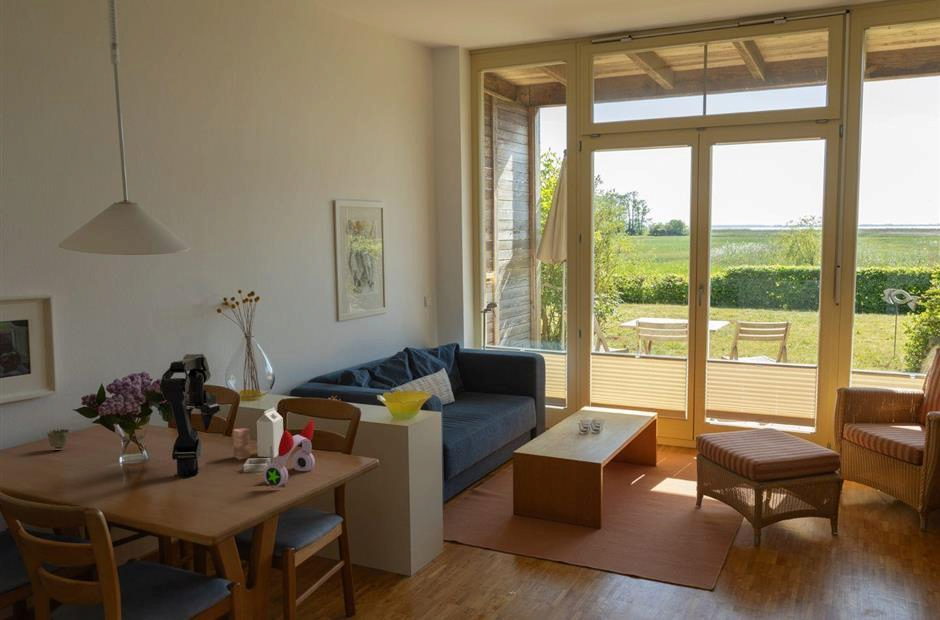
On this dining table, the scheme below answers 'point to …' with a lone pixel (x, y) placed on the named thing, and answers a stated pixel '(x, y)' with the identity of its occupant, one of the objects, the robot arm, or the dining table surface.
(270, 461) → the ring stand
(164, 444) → the dining table surface
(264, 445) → the milk carton
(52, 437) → the cup
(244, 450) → the peg
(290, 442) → the headphones
